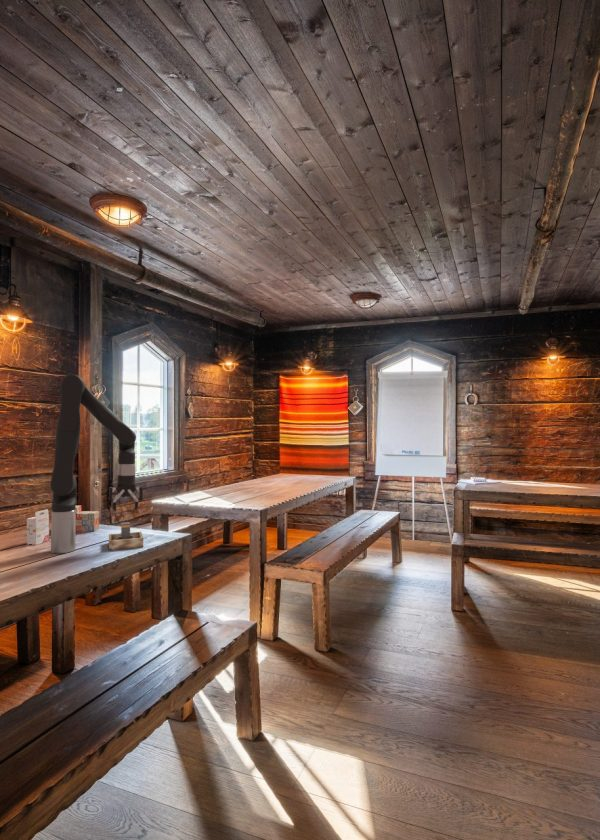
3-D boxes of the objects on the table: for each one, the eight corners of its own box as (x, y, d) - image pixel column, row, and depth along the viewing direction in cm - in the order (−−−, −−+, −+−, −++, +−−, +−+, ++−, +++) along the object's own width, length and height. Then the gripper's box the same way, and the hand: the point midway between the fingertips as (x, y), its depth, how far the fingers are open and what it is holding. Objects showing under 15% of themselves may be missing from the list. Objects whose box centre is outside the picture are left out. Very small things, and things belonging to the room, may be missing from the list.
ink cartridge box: (39, 540, 226) (40, 508, 226) (49, 540, 225) (49, 508, 225) (26, 544, 218) (26, 511, 218) (35, 545, 217) (35, 512, 217)
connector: (121, 544, 214) (121, 524, 214) (121, 542, 217) (121, 522, 217) (130, 543, 215) (130, 523, 215) (129, 542, 219) (129, 522, 219)
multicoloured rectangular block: (99, 529, 249) (99, 505, 249) (94, 532, 243) (94, 507, 243) (58, 529, 249) (58, 505, 249) (51, 532, 243) (51, 507, 243)
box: (109, 550, 208) (109, 541, 208) (108, 543, 220) (108, 534, 220) (143, 547, 213) (143, 538, 213) (141, 540, 225) (141, 531, 225)
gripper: (109, 475, 211) (108, 512, 210) (143, 474, 216) (142, 511, 216) (109, 473, 217) (108, 509, 217) (142, 472, 223) (141, 508, 223)
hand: (125, 510), depth 217 cm, fingers open, 8 cm apart
